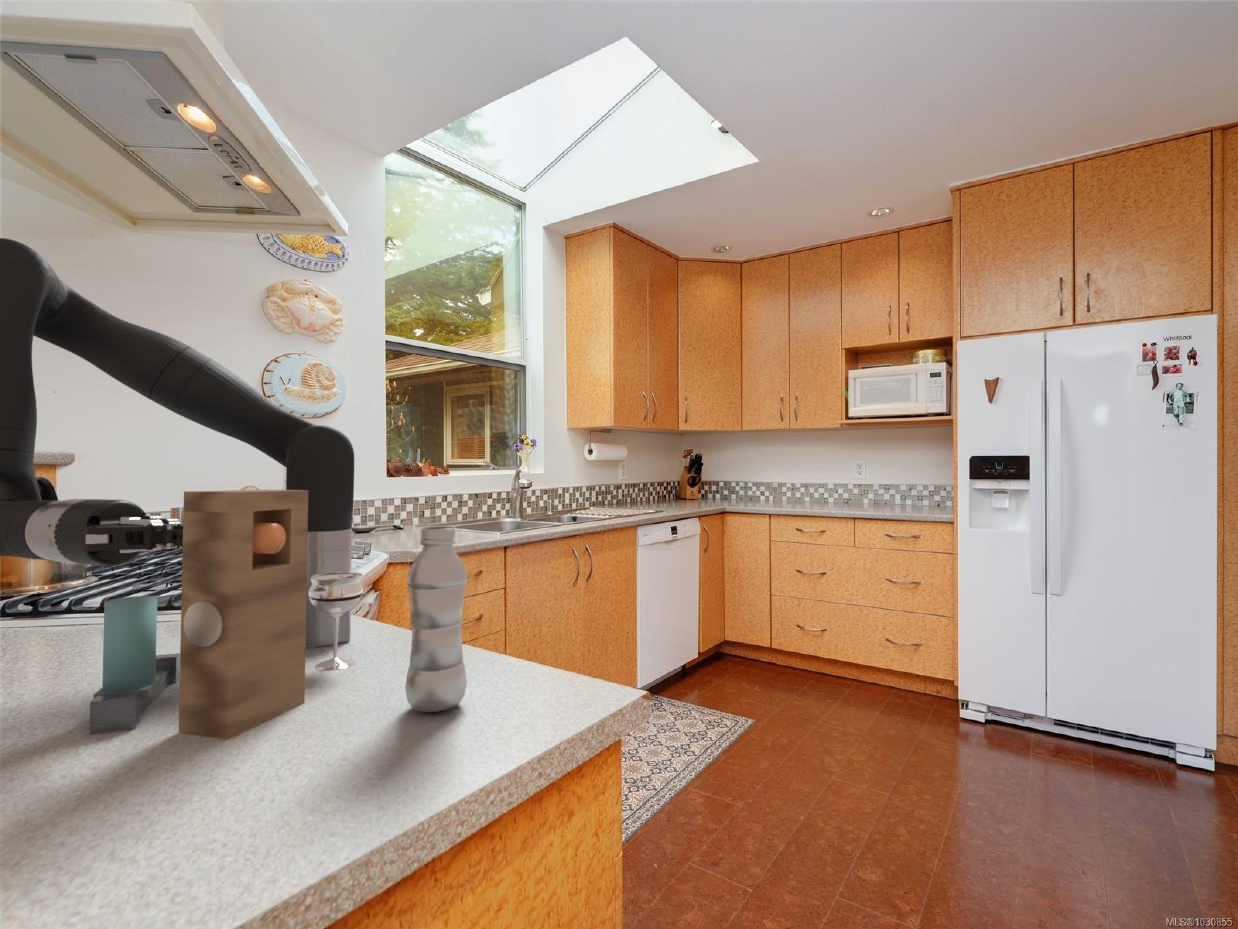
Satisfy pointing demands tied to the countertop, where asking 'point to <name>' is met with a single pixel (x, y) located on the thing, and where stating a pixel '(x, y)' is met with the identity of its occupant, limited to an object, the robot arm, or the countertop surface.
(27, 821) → the countertop surface
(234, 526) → the wooden window block
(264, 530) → the plunger
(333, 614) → the wineglass
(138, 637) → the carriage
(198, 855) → the countertop surface
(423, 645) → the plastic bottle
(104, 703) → the rail
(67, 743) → the countertop surface
